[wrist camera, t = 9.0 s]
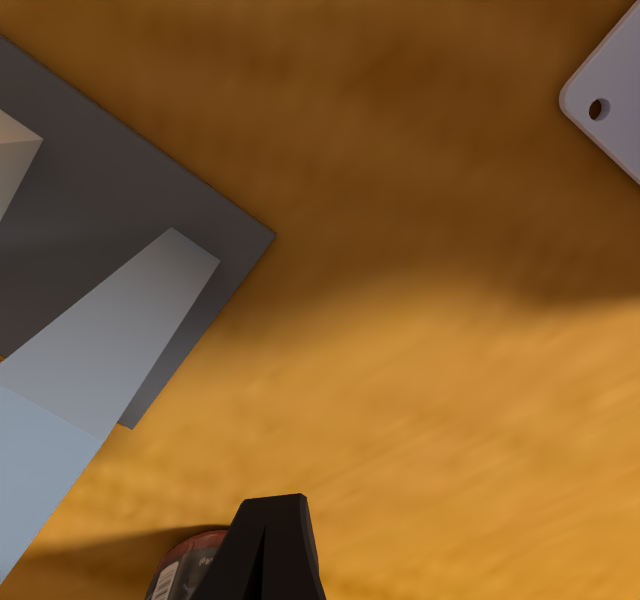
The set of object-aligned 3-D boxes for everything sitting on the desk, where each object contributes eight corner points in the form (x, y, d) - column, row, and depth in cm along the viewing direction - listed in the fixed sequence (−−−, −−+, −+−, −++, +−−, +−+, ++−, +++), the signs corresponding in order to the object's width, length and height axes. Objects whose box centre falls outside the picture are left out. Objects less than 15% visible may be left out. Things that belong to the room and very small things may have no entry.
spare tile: (220, 260, 14) (103, 442, 6) (132, 384, 15) (-49, 652, 8) (171, 226, 13) (-16, 375, 6) (85, 356, 15) (-153, 609, 7)
